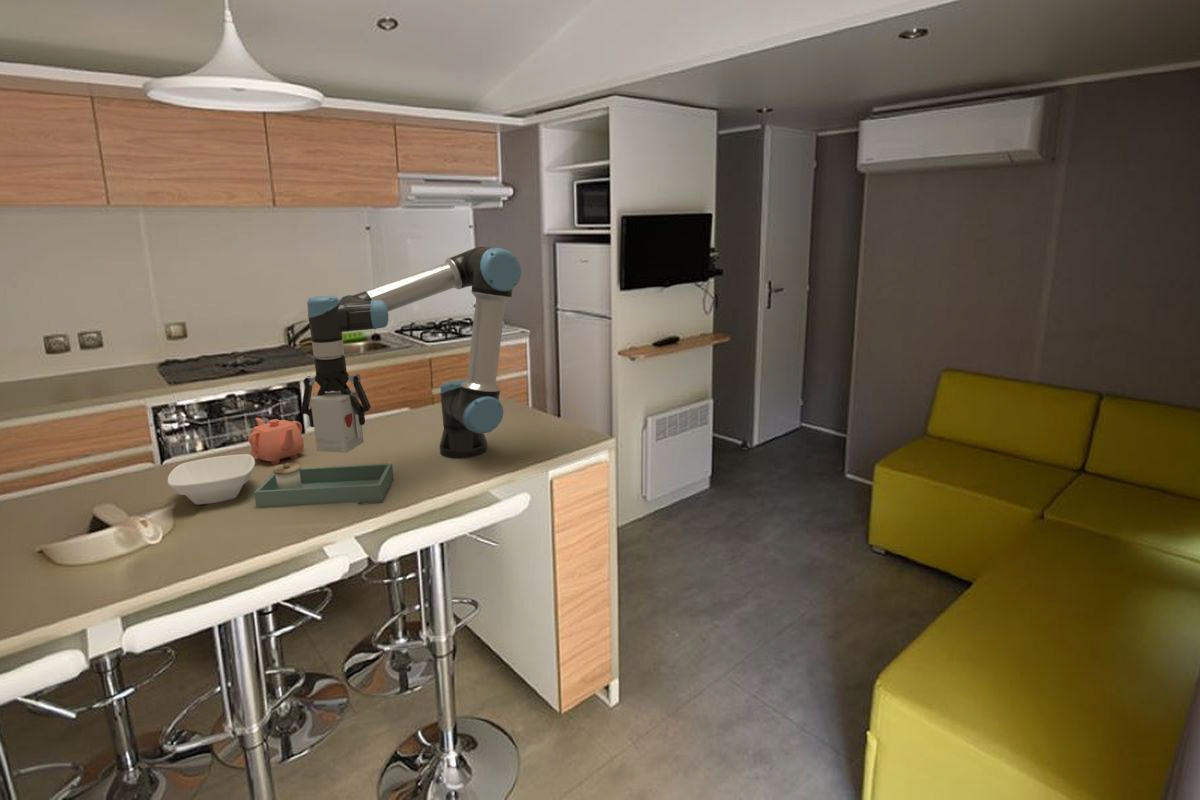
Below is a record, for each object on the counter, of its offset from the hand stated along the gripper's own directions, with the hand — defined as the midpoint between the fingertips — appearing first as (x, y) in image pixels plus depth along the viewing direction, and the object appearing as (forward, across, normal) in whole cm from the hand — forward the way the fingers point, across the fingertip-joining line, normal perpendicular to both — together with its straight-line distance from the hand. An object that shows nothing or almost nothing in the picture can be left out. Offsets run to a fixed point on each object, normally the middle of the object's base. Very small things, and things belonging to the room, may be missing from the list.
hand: (339, 437), depth 181 cm
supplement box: (+3, 0, 0) cm, 3 cm away
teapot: (+17, +29, -32) cm, 46 cm away
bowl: (+17, +35, -2) cm, 39 cm away
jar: (+16, +15, 0) cm, 22 cm away
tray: (+16, +5, 0) cm, 17 cm away
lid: (+9, +15, 0) cm, 17 cm away
